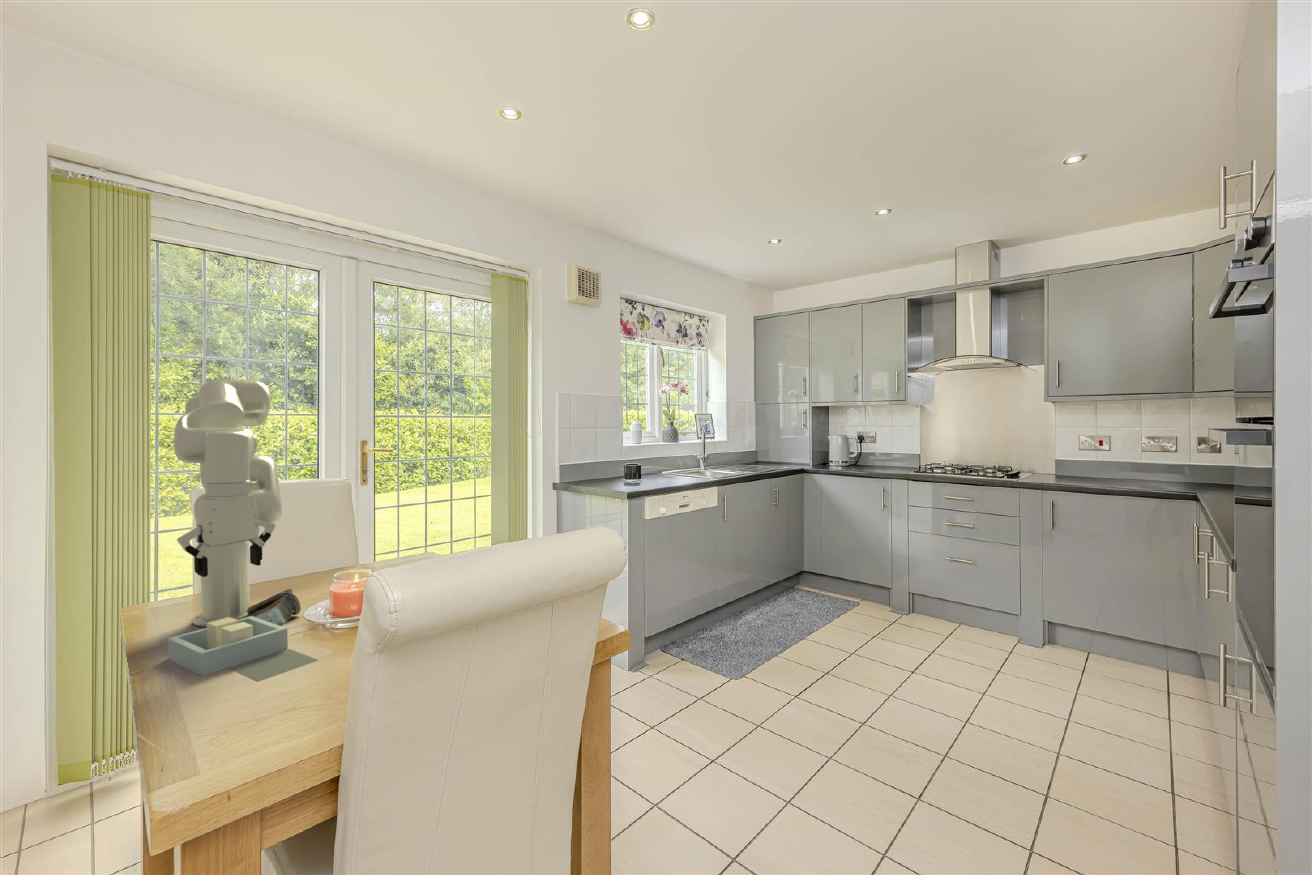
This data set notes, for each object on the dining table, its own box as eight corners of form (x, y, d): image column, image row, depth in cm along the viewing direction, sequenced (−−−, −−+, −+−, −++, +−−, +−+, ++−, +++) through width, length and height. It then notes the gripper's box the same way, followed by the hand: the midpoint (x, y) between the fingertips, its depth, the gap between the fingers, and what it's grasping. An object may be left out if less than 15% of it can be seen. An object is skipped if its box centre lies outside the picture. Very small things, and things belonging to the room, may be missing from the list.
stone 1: (207, 651, 118) (206, 622, 118) (229, 644, 122) (228, 617, 122) (216, 655, 116) (215, 626, 116) (238, 648, 120) (238, 620, 120)
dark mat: (229, 669, 111) (229, 668, 111) (289, 650, 120) (289, 648, 120) (257, 683, 105) (257, 681, 105) (318, 661, 114) (318, 659, 114)
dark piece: (229, 630, 132) (263, 596, 131) (243, 611, 139) (276, 579, 138) (266, 651, 136) (300, 619, 135) (278, 632, 142) (311, 601, 141)
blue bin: (168, 659, 115) (167, 638, 115) (252, 635, 128) (251, 615, 128) (202, 677, 107) (201, 653, 107) (287, 649, 121) (287, 628, 120)
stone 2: (221, 656, 115) (221, 627, 115) (244, 650, 119) (243, 621, 119) (231, 661, 113) (230, 631, 113) (253, 654, 117) (252, 625, 117)
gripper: (264, 483, 128) (266, 557, 129) (169, 492, 113) (171, 576, 114) (282, 486, 124) (283, 563, 125) (185, 497, 109) (187, 584, 110)
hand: (229, 569), depth 120 cm, fingers open, 9 cm apart
